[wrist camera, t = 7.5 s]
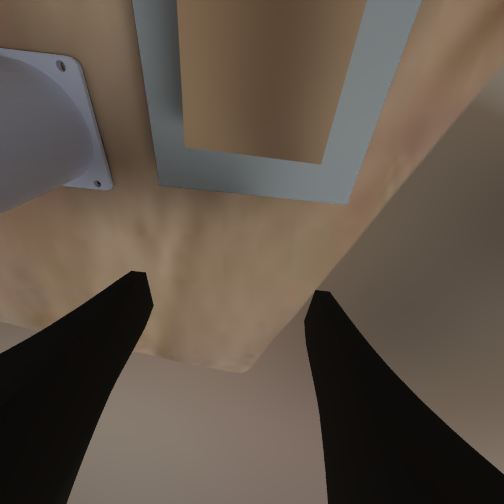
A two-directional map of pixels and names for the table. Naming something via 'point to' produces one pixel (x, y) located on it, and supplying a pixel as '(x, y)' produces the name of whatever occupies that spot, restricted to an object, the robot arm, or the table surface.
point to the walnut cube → (264, 73)
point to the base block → (261, 168)
